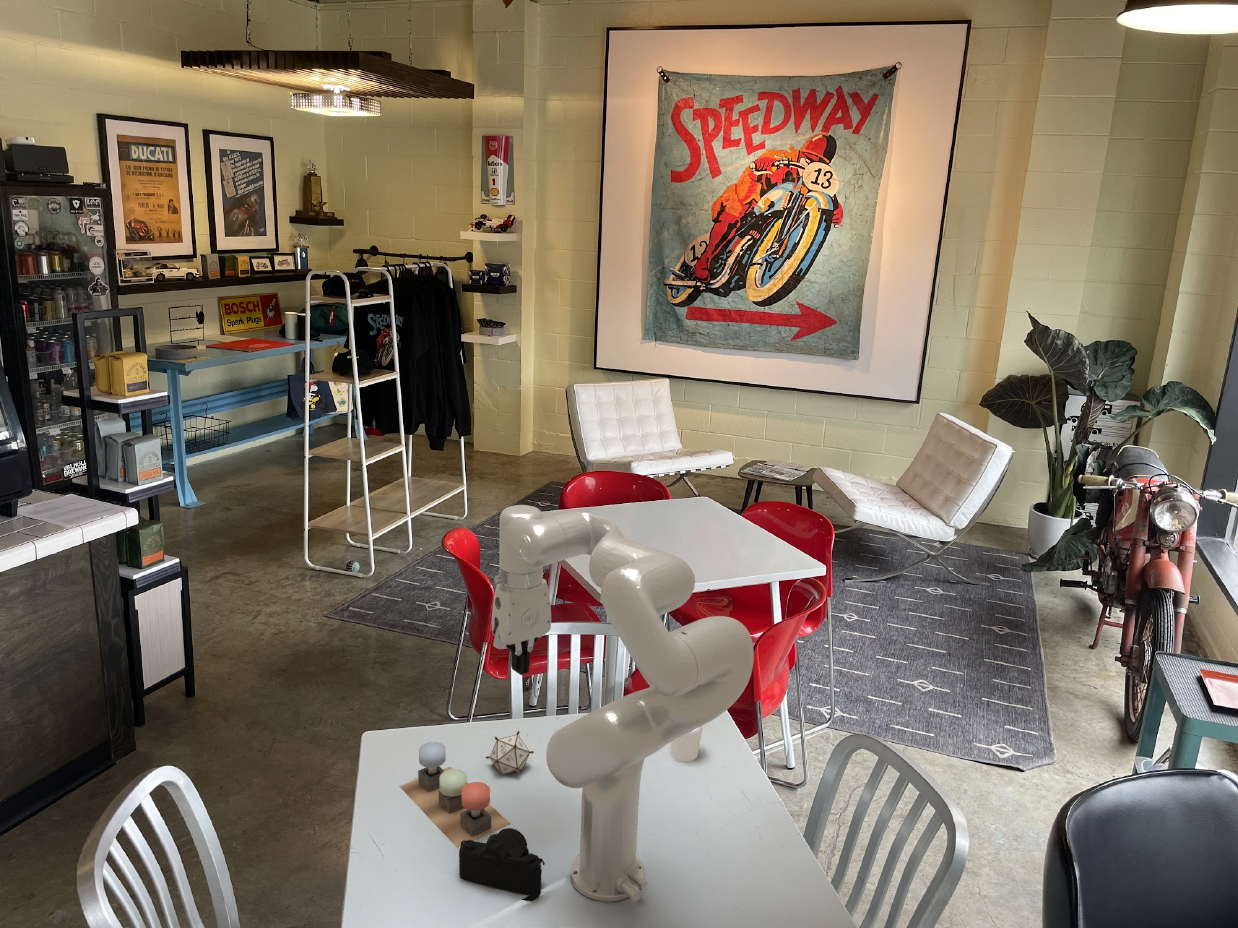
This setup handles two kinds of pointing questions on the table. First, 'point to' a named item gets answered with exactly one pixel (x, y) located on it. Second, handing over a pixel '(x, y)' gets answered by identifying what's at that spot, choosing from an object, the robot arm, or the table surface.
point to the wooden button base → (451, 809)
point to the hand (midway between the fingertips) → (520, 670)
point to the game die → (509, 754)
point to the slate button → (432, 756)
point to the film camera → (502, 864)
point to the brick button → (475, 797)
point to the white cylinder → (686, 746)
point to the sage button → (452, 782)
